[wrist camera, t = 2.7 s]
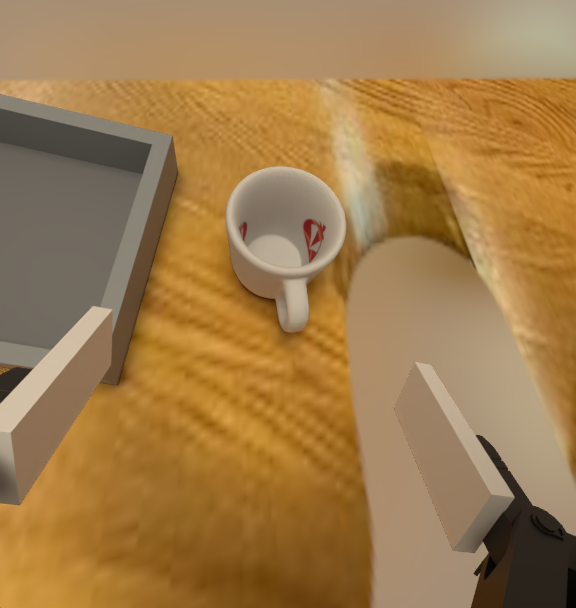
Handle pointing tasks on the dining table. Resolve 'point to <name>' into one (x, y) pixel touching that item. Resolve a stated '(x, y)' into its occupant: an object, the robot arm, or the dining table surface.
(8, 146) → the tray
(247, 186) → the cup
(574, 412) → the dining table surface
